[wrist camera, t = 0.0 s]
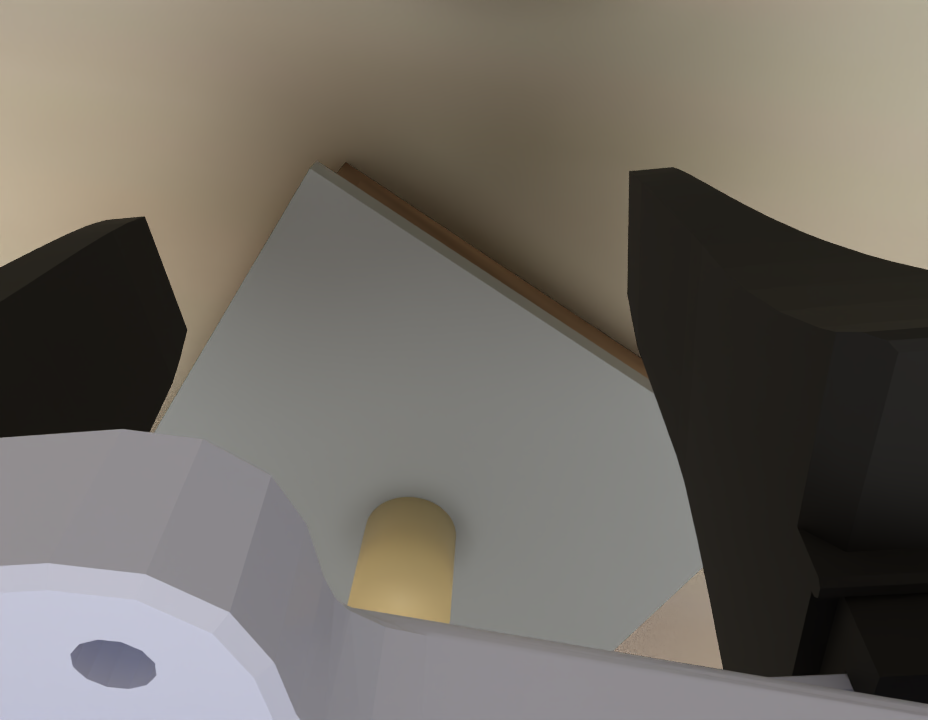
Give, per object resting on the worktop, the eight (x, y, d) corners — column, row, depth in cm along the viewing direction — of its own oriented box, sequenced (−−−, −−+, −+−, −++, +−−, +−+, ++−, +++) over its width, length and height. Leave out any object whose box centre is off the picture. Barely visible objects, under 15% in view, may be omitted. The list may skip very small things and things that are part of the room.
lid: (477, 756, 28) (475, 872, 24) (80, 561, 25) (10, 662, 21) (782, 467, 22) (837, 563, 19) (317, 160, 19) (274, 206, 15)
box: (476, 674, 30) (474, 742, 28) (140, 499, 27) (101, 558, 25) (728, 416, 25) (756, 470, 22) (345, 161, 22) (324, 189, 19)
